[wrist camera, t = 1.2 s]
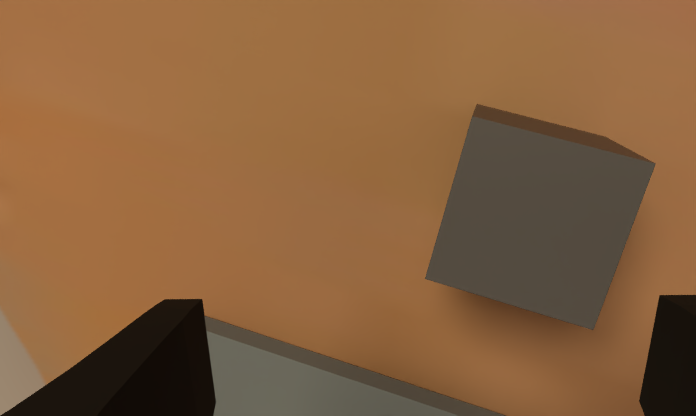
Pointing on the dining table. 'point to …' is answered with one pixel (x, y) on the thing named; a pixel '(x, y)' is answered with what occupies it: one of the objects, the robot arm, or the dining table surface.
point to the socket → (309, 382)
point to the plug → (538, 215)
